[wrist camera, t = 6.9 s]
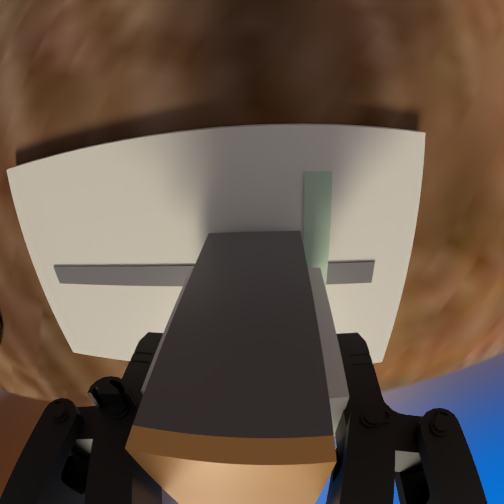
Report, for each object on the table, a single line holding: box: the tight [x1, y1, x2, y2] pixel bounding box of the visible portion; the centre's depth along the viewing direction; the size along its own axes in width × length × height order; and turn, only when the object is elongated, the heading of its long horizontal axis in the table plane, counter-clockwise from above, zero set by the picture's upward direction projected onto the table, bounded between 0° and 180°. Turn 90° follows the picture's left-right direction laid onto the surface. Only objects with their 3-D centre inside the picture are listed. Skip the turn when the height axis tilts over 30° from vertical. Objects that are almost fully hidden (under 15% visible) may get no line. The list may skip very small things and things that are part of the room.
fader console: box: [7, 124, 425, 363], centre depth 15 cm, size 14×22×1 cm, turn 93°
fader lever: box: [125, 231, 337, 504], centre depth 10 cm, size 5×4×10 cm
